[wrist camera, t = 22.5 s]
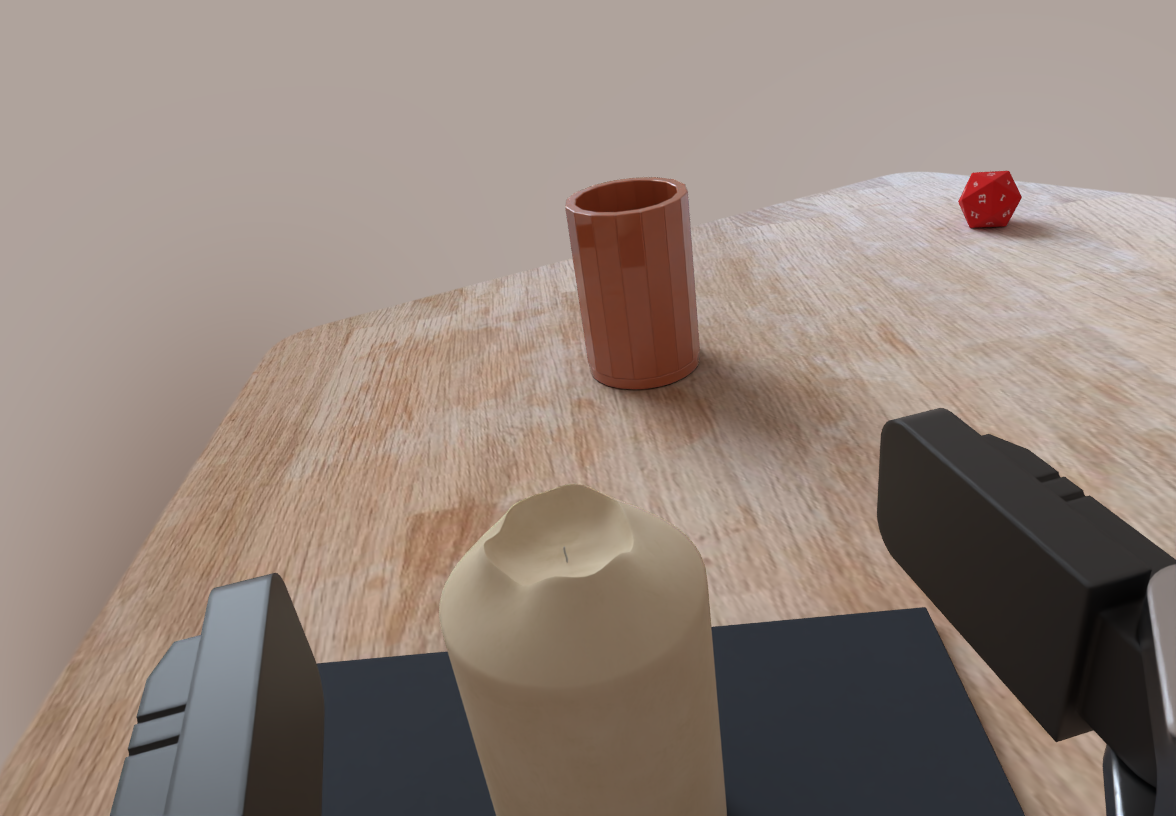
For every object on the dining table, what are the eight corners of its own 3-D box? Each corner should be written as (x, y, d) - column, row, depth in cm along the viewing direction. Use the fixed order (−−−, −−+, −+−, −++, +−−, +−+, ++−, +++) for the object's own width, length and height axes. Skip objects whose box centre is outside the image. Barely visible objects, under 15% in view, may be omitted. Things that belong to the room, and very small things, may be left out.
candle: (762, 915, 20) (743, 585, 15) (527, 982, 19) (426, 662, 14) (691, 726, 25) (658, 429, 20) (500, 776, 24) (418, 482, 19)
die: (967, 223, 54) (1008, 164, 52) (935, 208, 57) (972, 152, 55) (1005, 246, 55) (1045, 190, 54) (971, 231, 58) (1009, 177, 57)
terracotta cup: (589, 395, 43) (563, 221, 39) (590, 345, 48) (567, 186, 44) (705, 382, 43) (692, 205, 38) (693, 333, 48) (681, 171, 43)
